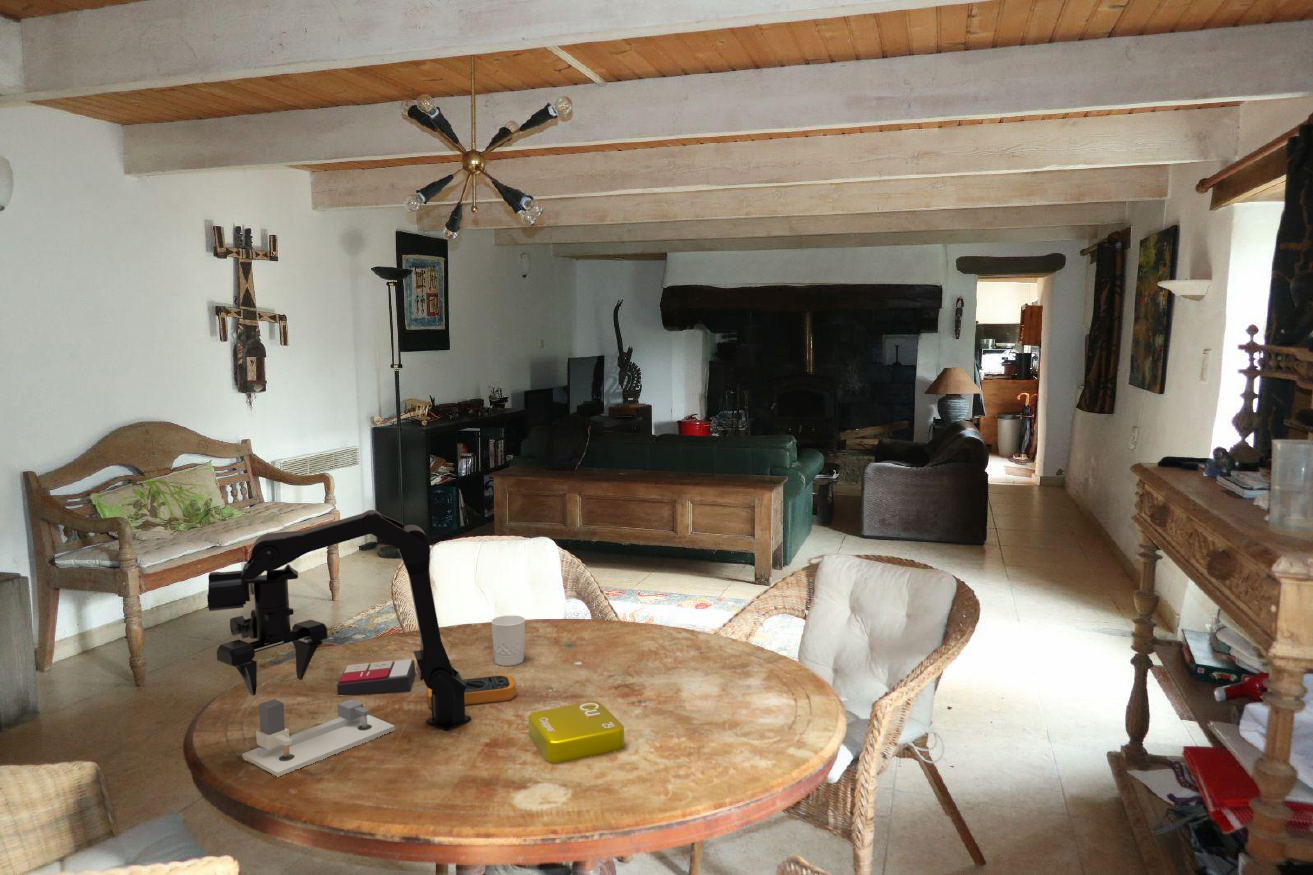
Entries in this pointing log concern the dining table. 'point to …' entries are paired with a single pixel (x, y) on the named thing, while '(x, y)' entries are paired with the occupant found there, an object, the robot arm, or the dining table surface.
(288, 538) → the robot arm
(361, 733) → the plate
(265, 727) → the block
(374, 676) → the calculator
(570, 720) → the element tile
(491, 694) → the multimeter
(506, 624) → the white cup
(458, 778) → the dining table surface
